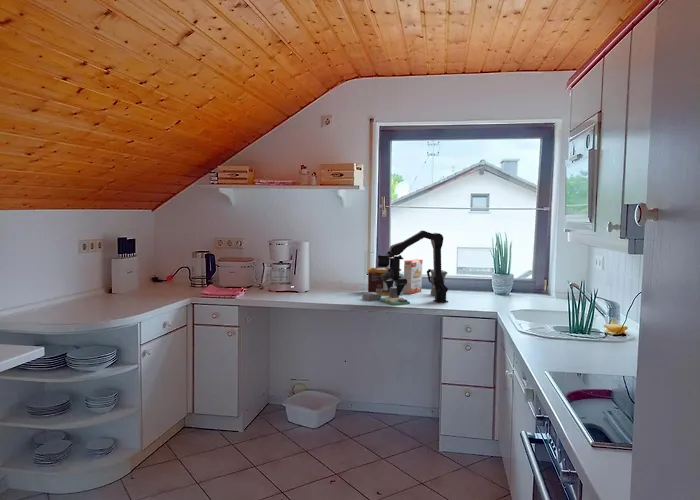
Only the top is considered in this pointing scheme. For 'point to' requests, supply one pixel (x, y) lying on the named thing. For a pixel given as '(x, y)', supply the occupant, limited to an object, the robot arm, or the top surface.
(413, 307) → the top surface
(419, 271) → the cracker box
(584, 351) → the top surface
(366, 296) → the speaker
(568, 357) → the top surface
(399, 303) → the board
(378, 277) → the supplement box
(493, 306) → the top surface
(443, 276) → the coffeepot
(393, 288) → the plug
